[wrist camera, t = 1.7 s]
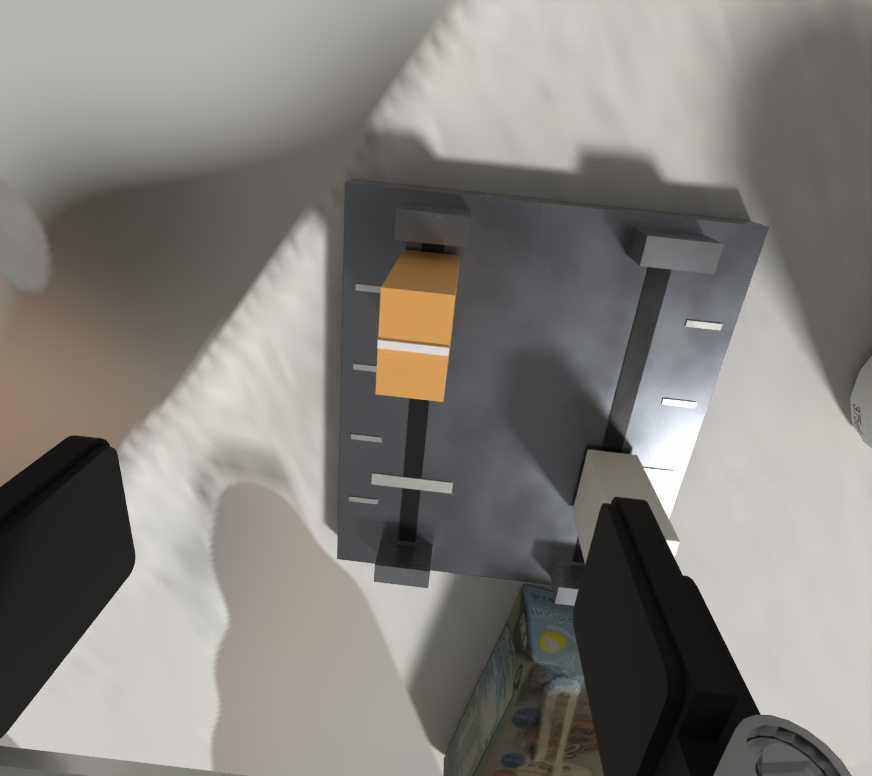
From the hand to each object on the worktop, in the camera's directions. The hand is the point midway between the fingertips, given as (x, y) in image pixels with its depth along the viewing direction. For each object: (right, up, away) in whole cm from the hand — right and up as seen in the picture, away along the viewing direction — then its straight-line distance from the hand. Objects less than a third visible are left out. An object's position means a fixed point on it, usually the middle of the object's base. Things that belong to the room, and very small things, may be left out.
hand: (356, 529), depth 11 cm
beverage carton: (+8, -18, +28) cm, 35 cm away
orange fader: (+1, +7, +14) cm, 16 cm away
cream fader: (+10, -2, +18) cm, 21 cm away
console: (+6, +2, +19) cm, 20 cm away
